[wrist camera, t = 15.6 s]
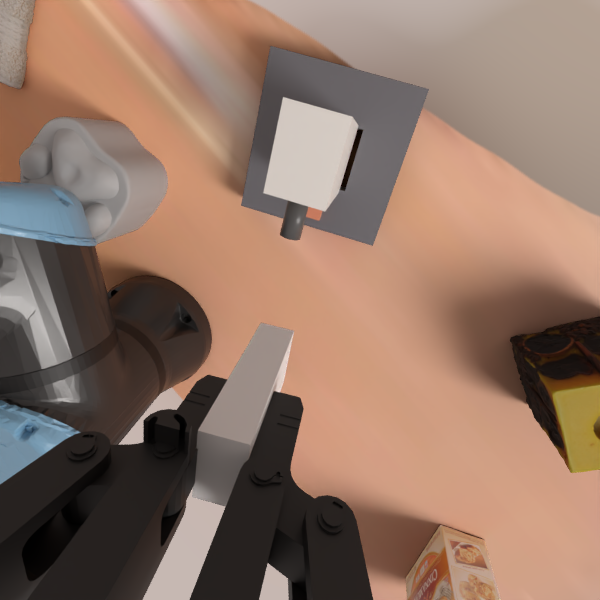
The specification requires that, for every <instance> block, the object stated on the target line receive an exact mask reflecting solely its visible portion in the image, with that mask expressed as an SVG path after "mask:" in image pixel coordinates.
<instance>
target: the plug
mask: <svg viewBox="0 0 600 600" xmlns="http://www.w3.org/2000/svg"><path fill="white" fill-rule="evenodd" d="M358 126H359V125H358V124H357V122H356V121H355V120H354V118H353V117H352V116H348V115H345V114H341V113H338V112H334V111H331V110H327V109H324V108H320V107H317V106H313V105H310V104H306V103H303V102H299V101H295V100H292V99H288V98H285V97H283V100H282V105H281V110H280V115H279V120H278V124H277V129H276V134H275V139H274V144H273V149H272V153H271V158H270V163H269V168H268V173H267V178H266V182H265V187H264V192H263V193H265V194H268V195H272V196H275V197H278V198H282V199H285V200H288V203H287V207H286V211H285V215H284V219H283V224H282V228H281V232H280V235H281V236H282V237H284V238H287V239H290V240H300V237H301V233H302V230H303V226H304V222H305V218H306V214H307V211H308V207H311V208H315V209H318V210H321V211H326V210H327V208H328V207H329V206H330V204H331V203H332V201H333V200H334V199H335V197H336V196H337V194H338V193H339V190H340V187H341V183H342V180H343V177H344V173H345V170H346V167H347V163H348V160H349V156H350V153H351V150H352V146H353V143H354V140H355V136H356V133H357V129H358Z"/></svg>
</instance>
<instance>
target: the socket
mask: <svg viewBox="0 0 600 600" xmlns="http://www.w3.org/2000/svg"><path fill="white" fill-rule="evenodd" d="M428 90H429V89H426V88H422V87H419V86H415V85H412V84H408V83H404V82H401V81H397V80H393V79H390V78H386V77H382V76H379V75H375V74H371V73H368V72H364V71H361V70H357V69H353V68H350V67H346V66H342V65H339V64H335V63H331V62H328V61H324V60H320V59H317V58H313V57H310V56H306V55H302V54H299V53H295V52H291V51H288V50H284V49H280V48H277V47H273V46H270V52H269V57H268V63H267V68H266V74H265V79H264V84H263V90H262V95H261V101H260V106H259V112H258V117H257V123H256V128H255V134H254V139H253V144H252V150H251V155H250V161H249V166H248V172H247V177H246V183H245V188H244V193H243V199H242V204H241V206H244V207H248V208H251V209H254V210H257V211H261V212H264V213H267V214H270V215H274V216H277V217H280V218H284V215H285V211H286V207H287V203H288V200H285V199H282V198H278V197H275V196H272V195H268V194H265V193H263V192H264V187H265V182H266V178H267V173H268V168H269V163H270V158H271V153H272V149H273V144H274V139H275V134H276V129H277V124H278V120H279V115H280V110H281V105H282V100H283V97H285V98H288V99H292V100H295V101H299V102H303V103H306V104H310V105H313V106H317V107H320V108H324V109H327V110H331V111H334V112H338V113H341V114H345V115H348V116H352V117H353V118H354V120H355V121H356V122H357V124H358V125H359V126H358V129H359V130H362V131H363V133H362V137H361V140H360V143H359V146H358V150H357V153H356V156H355V160H354V163H353V166H352V170H351V173H350V176H349V179H348V183H347V186H346V187H342V186H341V187H340V190H339V193H338V194H337V196H336V197H335V199H334V200H333V201H332V203H331V204H330V206H329V207H328V208H327V210H326V211H321V210H318V209H315V208H311V207H308V211H307V214H306V218H305V222H304V225H307V226H310V227H313V228H316V229H320V230H323V231H326V232H330V233H333V234H336V235H339V236H343V237H346V238H349V239H353V240H356V241H359V242H362V243H366V244H369V245H372V246H373V243H374V241H375V238H376V235H377V232H378V230H379V227H380V224H381V221H382V218H383V216H384V213H385V210H386V207H387V205H388V202H389V199H390V196H391V193H392V191H393V188H394V185H395V182H396V179H397V177H398V174H399V171H400V168H401V166H402V163H403V160H404V157H405V154H406V152H407V149H408V146H409V143H410V141H411V138H412V135H413V132H414V129H415V127H416V124H417V121H418V118H419V116H420V113H421V110H422V107H423V104H424V101H425V99H426V96H427V93H428Z"/></svg>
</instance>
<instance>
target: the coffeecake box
mask: <svg viewBox="0 0 600 600" xmlns="http://www.w3.org/2000/svg"><path fill="white" fill-rule="evenodd" d="M405 580H406V592H407V600H501V598H500V595H499V591H498V587H497V584H496V580H495V576H494V573H493V570H492V566H491V562H490V559H489V555H488V551H487V548H486V544H485V540H483V539H480V538H477V537H474V536H470V535H467V534H465V533H462V532H460V531H457V530H455V529H452V528H449V527H446V526H443V525H440V526H439V527H438V529H437V530H436V532H435V534H434V535H433V537H432V538H431V540H430V541H429V543H428V544H427V546H426V547H425V549H424V550H423V552H422V553H421V555H420V557H419V558H418V560H417V561H416V563H415V564H414V566H413V567H412V569H411V571H410V572H409V574H408V575H407V577H406V578H405Z"/></svg>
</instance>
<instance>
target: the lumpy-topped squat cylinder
mask: <svg viewBox="0 0 600 600" xmlns="http://www.w3.org/2000/svg"><path fill="white" fill-rule="evenodd" d="M19 164H20V168H21V183H35V184H47V185H55V186H60V187H62V188H65V189H67V190H69V191H70V192H72V193H73V194H74V195H75V196H76V197H77V198H78V199H79V201H80V202H81V204H82V206H83V209H84V212H85V216H86V219H87V222H88V225H89V228H90V231H91V234H92V237H94V238H95V239H96V241H97V244H99V243H102V242H104V241H107V240H110V239H113V238H116V237H118V236H121V235H124V234H127V233H130V232H132V231H135V230H137V229H139V228H140V227H141V226H143V225H144V224H145V223H146V222H147V220H148V219H149V218H150V217H151V216H152V215H153V213H154V212H155V211H156V209H157V208H158V206H159V205H160V203H161V202H162V200H163V198H164V197H165V194H166V192H167V187H168V177H167V172H166V170H165V167H164V166H163V164H162V163H161V162H160V161H159V160H158V159H157V158H156V157H155V156H154V155H152V154H151V153H150V152H149V151H147V150H146V149H145V148H144V147H143V146H142V145H141V143H140V142H139V141H138V139H137V138H136V137H135V135H134V134H133V133H132V131H131V130H130V129H129V128H128V127H127V126H125V125H124V124H122V123H120V122H117V121H107V120H96V119H86V118H75V117H59V118H55V119H52V120H50V121H49V122H48V123H47V124H45V125H44V127H43V128H42V129H41V130H40V132H39V133H38V135H37V136H36V137H35V139H34V140H33V142H32V144H31V145H30V147H29V148H27V149H26V150H25V151H24V152H23V153H22V155H21V157H20V160H19Z"/></svg>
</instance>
